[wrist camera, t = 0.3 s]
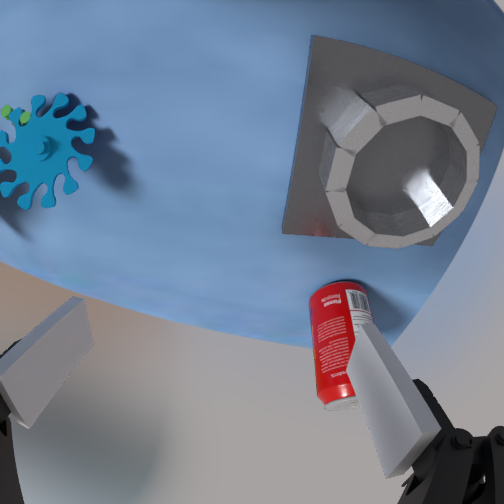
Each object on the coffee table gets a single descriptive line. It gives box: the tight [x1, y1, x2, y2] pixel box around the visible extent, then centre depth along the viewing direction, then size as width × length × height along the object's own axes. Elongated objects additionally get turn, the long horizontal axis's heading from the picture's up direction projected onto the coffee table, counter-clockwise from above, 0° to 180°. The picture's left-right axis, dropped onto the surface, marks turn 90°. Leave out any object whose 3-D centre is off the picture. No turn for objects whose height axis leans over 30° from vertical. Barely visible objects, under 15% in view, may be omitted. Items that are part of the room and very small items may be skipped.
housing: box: [282, 35, 497, 248], centre depth 20 cm, size 18×18×4 cm
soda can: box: [309, 281, 374, 411], centre depth 30 cm, size 8×8×15 cm
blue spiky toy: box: [0, 93, 95, 210], centre depth 18 cm, size 11×6×10 cm
